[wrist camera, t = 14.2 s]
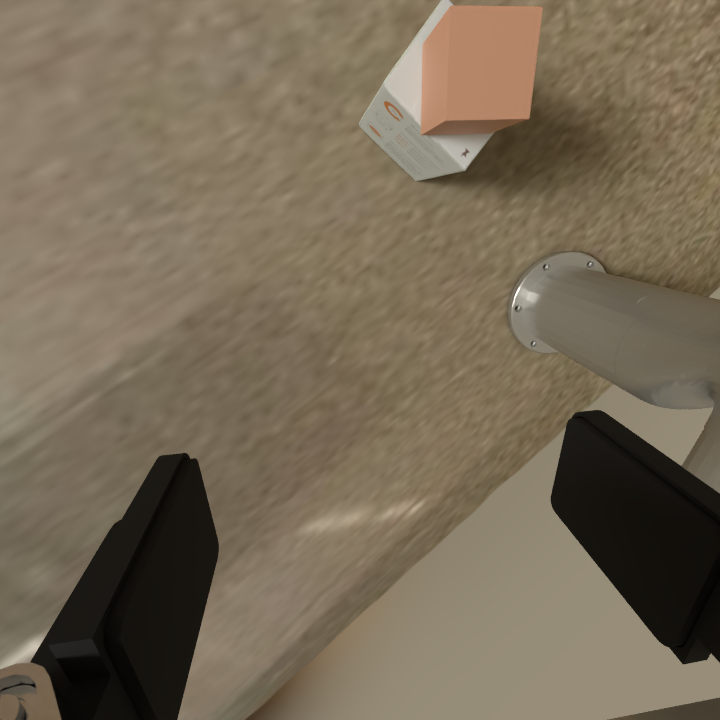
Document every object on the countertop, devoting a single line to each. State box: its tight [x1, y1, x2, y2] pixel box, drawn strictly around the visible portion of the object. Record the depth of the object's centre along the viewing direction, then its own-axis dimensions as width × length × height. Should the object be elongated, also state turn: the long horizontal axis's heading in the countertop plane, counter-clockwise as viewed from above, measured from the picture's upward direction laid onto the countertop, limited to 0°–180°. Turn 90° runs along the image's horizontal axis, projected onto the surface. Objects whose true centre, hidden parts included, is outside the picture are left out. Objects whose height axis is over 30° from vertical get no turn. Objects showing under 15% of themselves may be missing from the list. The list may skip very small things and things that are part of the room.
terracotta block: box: [421, 6, 543, 135], centre depth 22 cm, size 5×5×5 cm
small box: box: [359, 0, 494, 181], centre depth 31 cm, size 8×6×13 cm
